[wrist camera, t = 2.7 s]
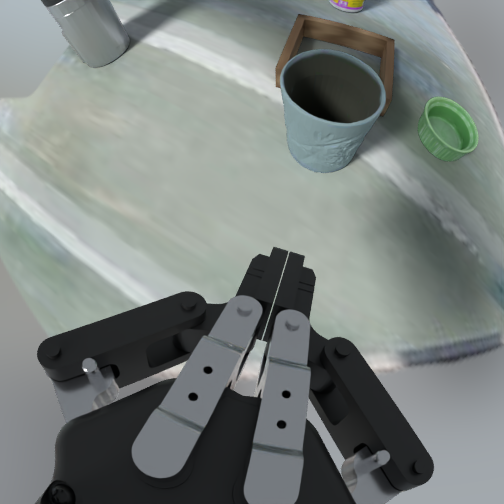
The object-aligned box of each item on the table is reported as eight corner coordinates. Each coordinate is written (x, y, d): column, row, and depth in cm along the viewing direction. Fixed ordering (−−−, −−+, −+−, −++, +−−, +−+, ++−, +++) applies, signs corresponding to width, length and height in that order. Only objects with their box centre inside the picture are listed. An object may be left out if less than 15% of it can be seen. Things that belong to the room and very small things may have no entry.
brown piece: (275, 86, 38) (275, 68, 34) (297, 31, 40) (298, 14, 36) (382, 116, 36) (391, 100, 32) (388, 55, 38) (394, 39, 34)
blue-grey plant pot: (361, 181, 35) (395, 130, 23) (279, 178, 35) (280, 122, 24) (353, 114, 36) (375, 53, 25) (278, 110, 37) (278, 45, 25)
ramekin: (402, 117, 36) (413, 99, 32) (444, 109, 36) (456, 93, 32) (433, 171, 34) (448, 158, 30) (473, 158, 34) (488, 146, 30)
